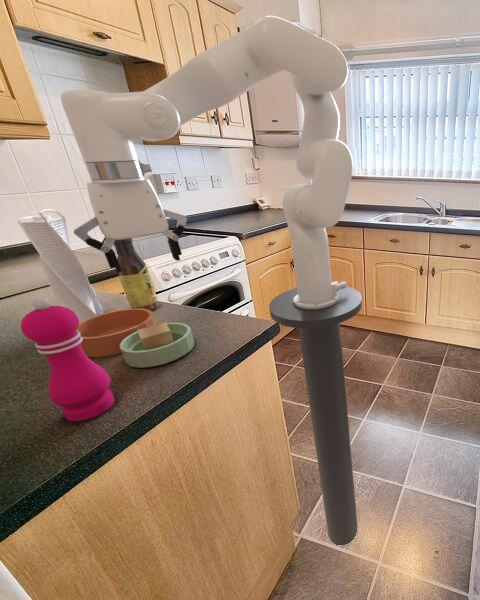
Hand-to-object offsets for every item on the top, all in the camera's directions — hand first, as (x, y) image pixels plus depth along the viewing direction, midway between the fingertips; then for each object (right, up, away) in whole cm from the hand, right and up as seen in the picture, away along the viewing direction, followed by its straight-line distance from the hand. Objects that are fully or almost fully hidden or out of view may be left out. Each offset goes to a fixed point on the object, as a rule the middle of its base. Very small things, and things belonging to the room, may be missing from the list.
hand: (149, 264), depth 67 cm
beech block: (-1, -18, +5) cm, 18 cm away
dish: (-1, -18, +5) cm, 19 cm away
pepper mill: (-2, -25, -11) cm, 27 cm away
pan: (-14, -16, +10) cm, 24 cm away
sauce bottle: (-20, -10, +25) cm, 33 cm away
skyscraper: (-29, -13, +18) cm, 36 cm away
